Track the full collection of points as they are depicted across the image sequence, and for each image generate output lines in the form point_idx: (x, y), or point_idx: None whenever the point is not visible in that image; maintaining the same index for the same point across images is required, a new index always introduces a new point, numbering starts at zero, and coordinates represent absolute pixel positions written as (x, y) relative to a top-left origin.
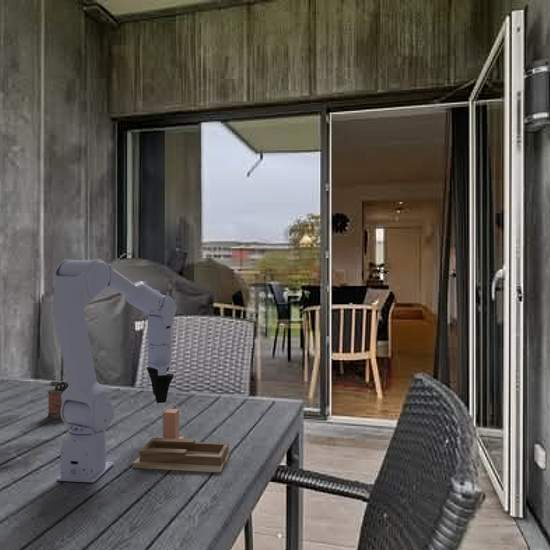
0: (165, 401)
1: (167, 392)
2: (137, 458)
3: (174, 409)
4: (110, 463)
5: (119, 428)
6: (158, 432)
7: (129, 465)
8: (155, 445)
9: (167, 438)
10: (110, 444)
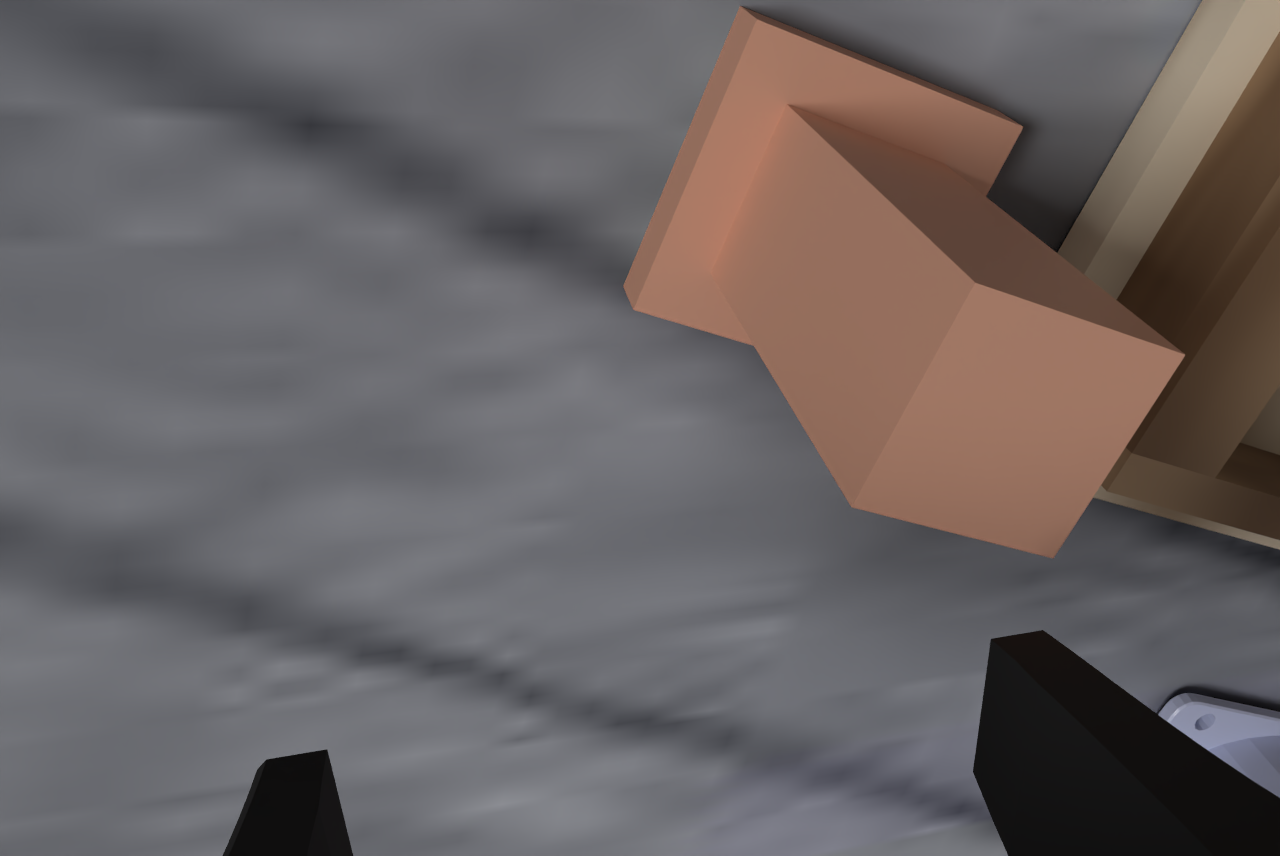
0: (1059, 644)
1: (1226, 764)
2: (1258, 541)
3: (949, 371)
4: (1195, 719)
5: (70, 819)
6: (291, 374)
7: (1244, 570)
8: None
9: (1227, 320)
10: (631, 798)
